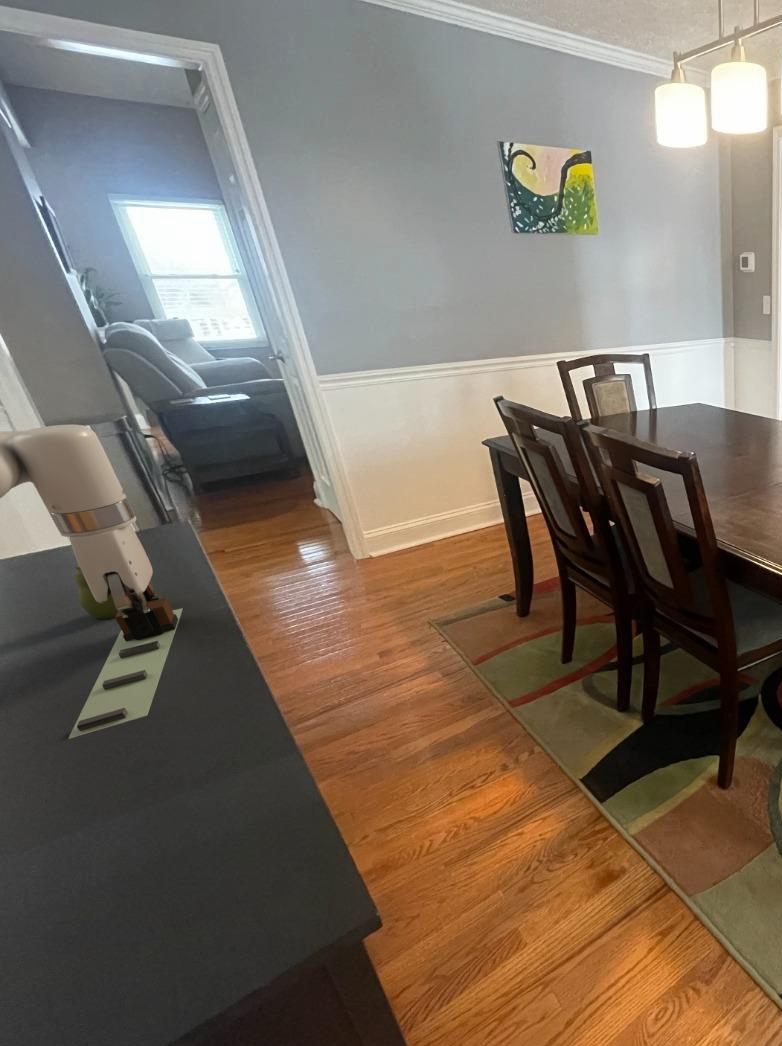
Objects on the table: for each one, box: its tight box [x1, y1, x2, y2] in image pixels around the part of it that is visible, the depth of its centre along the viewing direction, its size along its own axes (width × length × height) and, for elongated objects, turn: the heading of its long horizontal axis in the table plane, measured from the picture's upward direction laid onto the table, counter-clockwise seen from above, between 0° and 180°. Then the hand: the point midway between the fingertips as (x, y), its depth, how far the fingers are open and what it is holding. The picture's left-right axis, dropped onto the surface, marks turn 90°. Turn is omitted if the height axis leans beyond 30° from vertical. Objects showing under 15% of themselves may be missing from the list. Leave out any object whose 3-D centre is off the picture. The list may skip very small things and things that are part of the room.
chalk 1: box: [119, 641, 160, 658], centre depth 84 cm, size 4×1×1 cm, turn 125°
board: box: [68, 607, 184, 740], centre depth 82 cm, size 7×32×1 cm, turn 35°
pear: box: [74, 563, 118, 620], centre depth 93 cm, size 6×5×10 cm
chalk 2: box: [102, 670, 148, 690], centre depth 78 cm, size 4×1×1 cm, turn 125°
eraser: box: [114, 597, 179, 641], centre depth 89 cm, size 6×4×4 cm, turn 126°
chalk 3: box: [77, 708, 128, 731], centre depth 71 cm, size 4×1×1 cm, turn 125°
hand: (152, 628), depth 89 cm, fingers closed on eraser, 3 cm apart
